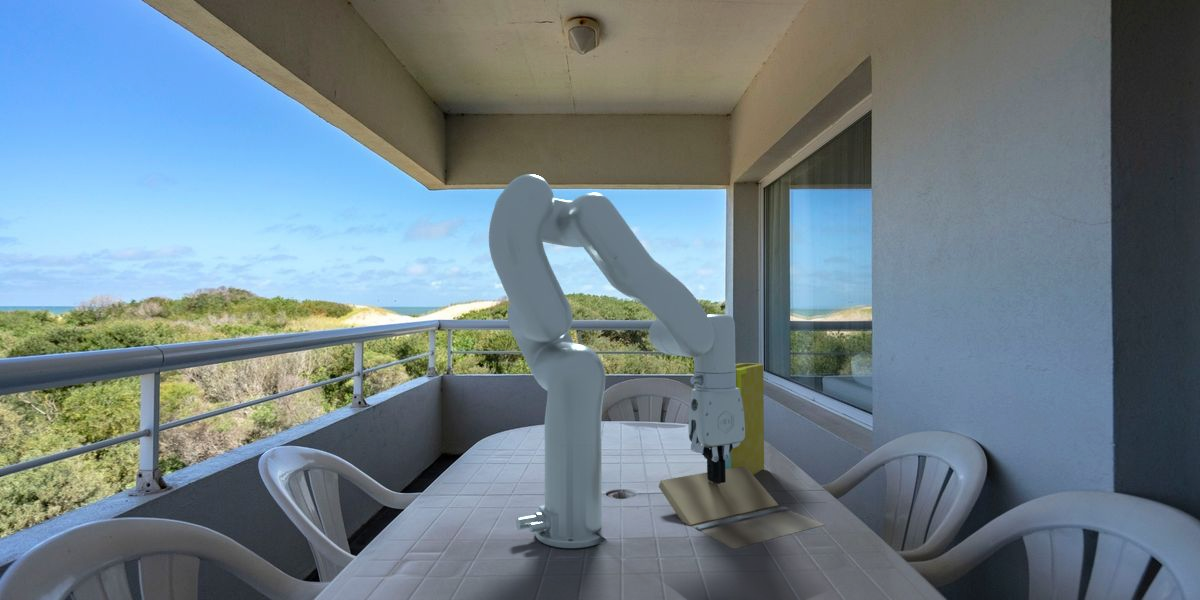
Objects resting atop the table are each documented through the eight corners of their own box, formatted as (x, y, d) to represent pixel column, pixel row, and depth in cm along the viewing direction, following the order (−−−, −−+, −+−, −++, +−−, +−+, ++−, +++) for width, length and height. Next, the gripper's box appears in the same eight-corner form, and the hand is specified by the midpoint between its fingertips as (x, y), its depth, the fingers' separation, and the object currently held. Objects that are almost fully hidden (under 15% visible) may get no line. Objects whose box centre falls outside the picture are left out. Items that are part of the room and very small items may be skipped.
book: (740, 491, 115) (739, 370, 115) (710, 485, 119) (709, 368, 119) (769, 473, 128) (768, 364, 129) (742, 468, 132) (741, 362, 133)
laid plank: (733, 558, 83) (733, 546, 83) (692, 535, 92) (691, 524, 92) (825, 533, 93) (825, 522, 93) (780, 514, 102) (779, 504, 102)
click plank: (688, 530, 93) (690, 524, 93) (658, 486, 101) (660, 480, 100) (775, 510, 103) (778, 504, 102) (742, 471, 110) (745, 465, 110)
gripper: (695, 386, 96) (696, 493, 96) (759, 380, 103) (761, 480, 103) (669, 381, 103) (671, 482, 102) (732, 376, 110) (733, 470, 109)
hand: (716, 481), depth 102 cm, fingers closed
